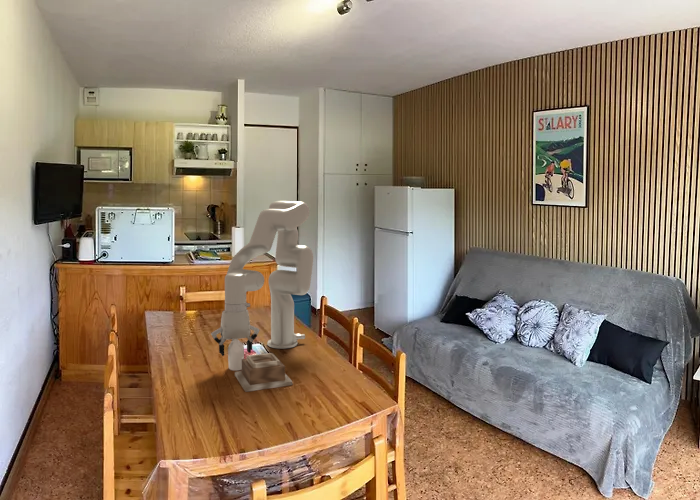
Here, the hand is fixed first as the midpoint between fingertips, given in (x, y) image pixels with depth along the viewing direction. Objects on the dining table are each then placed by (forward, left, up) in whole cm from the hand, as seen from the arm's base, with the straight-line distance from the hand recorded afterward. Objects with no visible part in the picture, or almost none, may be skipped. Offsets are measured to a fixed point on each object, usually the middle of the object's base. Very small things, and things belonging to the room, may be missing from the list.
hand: (235, 353), depth 193 cm
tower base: (-6, +15, -6) cm, 17 cm away
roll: (0, 0, -6) cm, 6 cm away
